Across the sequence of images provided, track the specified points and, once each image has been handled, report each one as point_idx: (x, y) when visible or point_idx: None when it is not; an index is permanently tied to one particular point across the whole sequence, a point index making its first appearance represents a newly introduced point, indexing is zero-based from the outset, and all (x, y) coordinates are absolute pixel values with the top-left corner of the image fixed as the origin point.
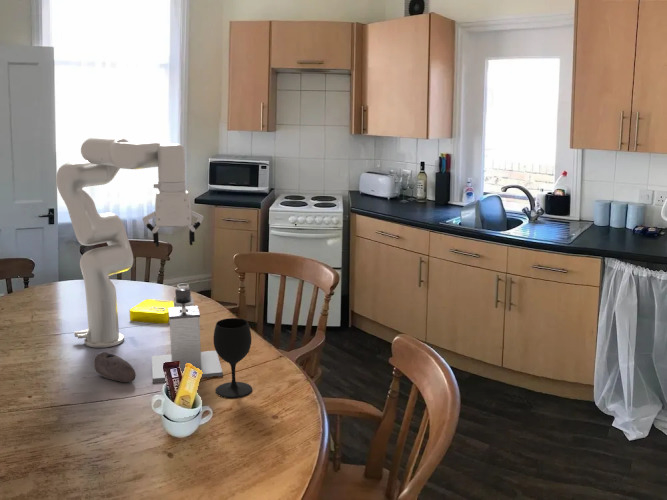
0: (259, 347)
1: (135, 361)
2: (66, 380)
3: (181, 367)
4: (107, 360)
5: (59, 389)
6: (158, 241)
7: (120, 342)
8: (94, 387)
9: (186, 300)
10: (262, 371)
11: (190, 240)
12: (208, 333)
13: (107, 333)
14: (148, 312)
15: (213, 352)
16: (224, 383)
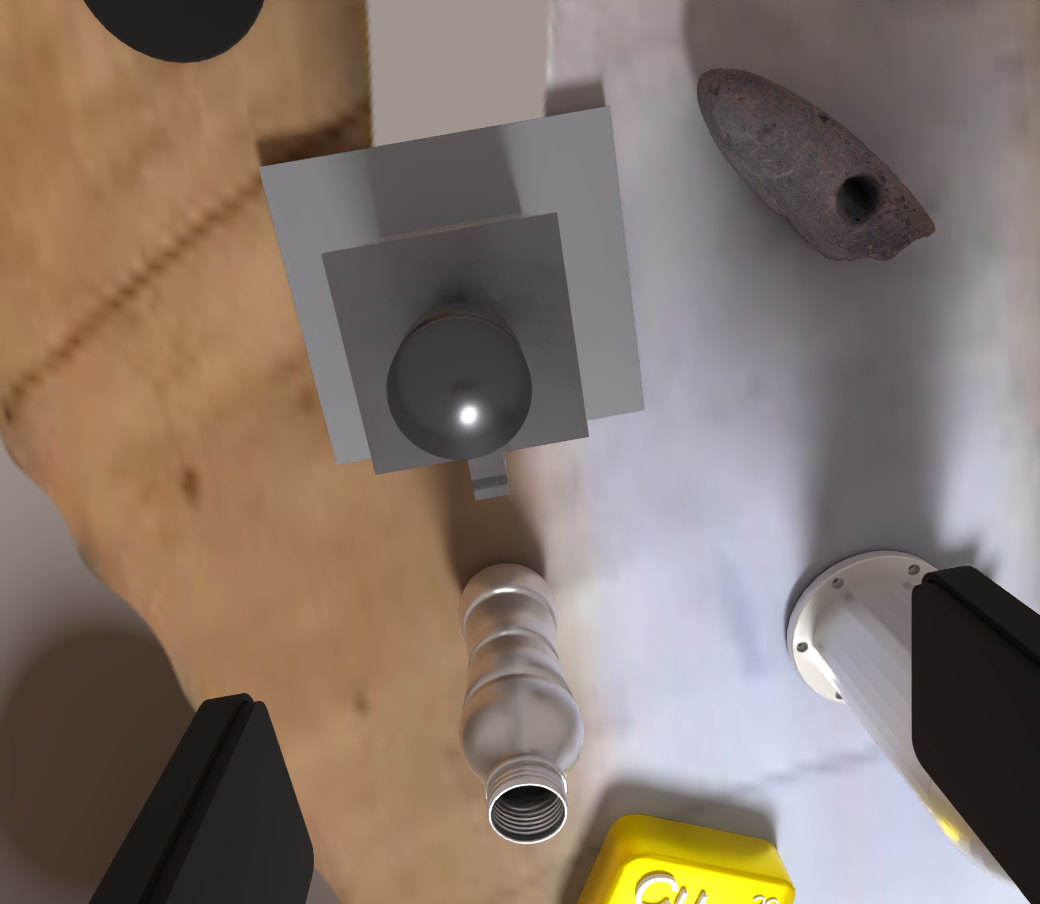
0: (140, 532)
1: (714, 388)
2: (1009, 173)
3: (477, 220)
4: (870, 153)
5: (1037, 59)
6: (983, 634)
7: (800, 600)
8: (879, 70)
9: (424, 316)
10: (63, 216)
11: (215, 767)
12: (416, 705)
13: (879, 605)
14: (709, 866)
15: (347, 439)
16: (231, 40)
